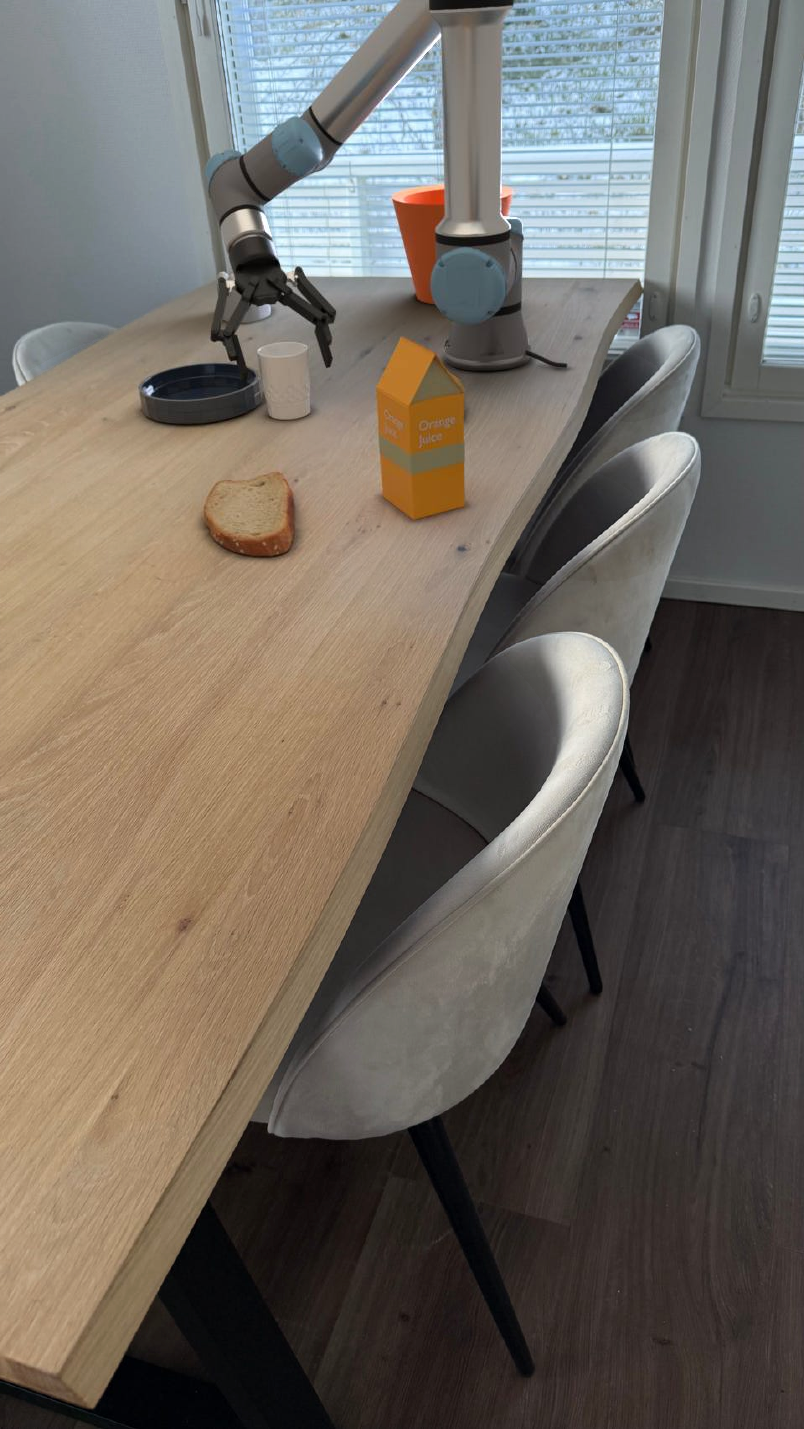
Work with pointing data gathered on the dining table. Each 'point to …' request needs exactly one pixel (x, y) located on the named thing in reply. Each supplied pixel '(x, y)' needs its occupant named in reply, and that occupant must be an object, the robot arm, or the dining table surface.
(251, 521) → the slice of bread
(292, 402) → the white cup
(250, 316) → the lumpy-topped squat cylinder
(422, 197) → the flowerpot
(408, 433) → the orange juice
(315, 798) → the dining table surface
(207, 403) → the plate
